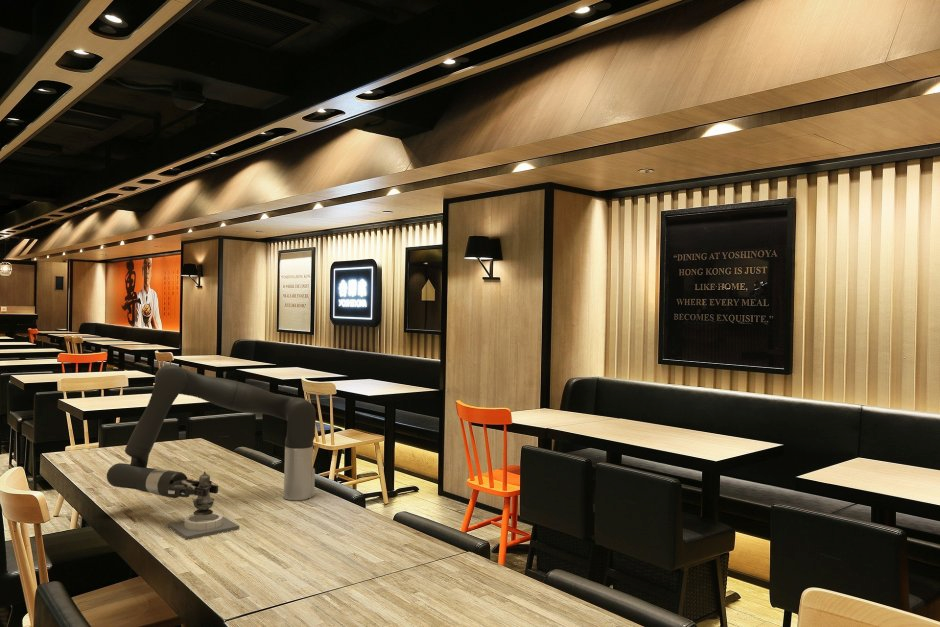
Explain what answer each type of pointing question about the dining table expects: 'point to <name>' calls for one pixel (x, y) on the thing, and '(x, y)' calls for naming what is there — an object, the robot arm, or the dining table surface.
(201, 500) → the salt shaker
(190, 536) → the tray
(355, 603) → the dining table surface
